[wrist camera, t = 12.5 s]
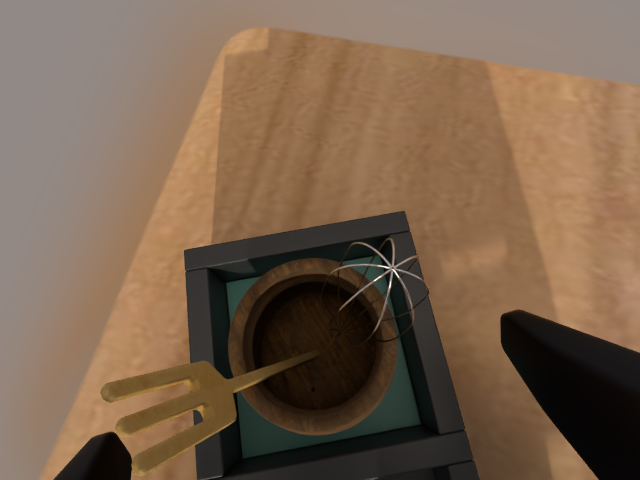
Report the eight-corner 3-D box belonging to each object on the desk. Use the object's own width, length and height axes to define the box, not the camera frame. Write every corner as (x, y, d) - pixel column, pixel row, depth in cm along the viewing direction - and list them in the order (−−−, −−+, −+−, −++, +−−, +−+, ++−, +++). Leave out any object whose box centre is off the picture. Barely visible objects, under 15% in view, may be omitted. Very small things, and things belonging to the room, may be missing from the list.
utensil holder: (410, 369, 17) (558, 361, 6) (294, 454, 16) (203, 644, 5) (337, 266, 19) (343, 107, 8) (228, 337, 18) (49, 276, 7)
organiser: (516, 712, 14) (575, 822, 10) (248, 770, 14) (219, 902, 10) (392, 237, 20) (404, 210, 17) (208, 270, 20) (183, 249, 17)
